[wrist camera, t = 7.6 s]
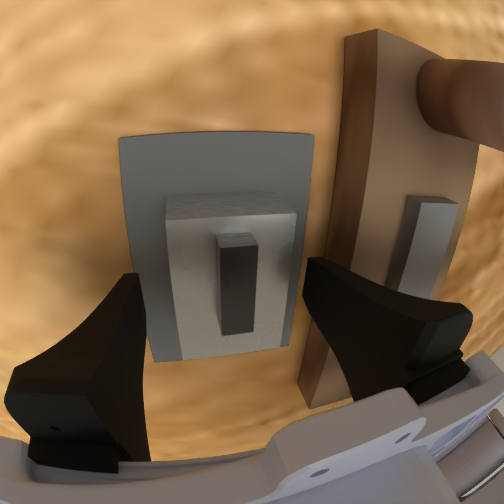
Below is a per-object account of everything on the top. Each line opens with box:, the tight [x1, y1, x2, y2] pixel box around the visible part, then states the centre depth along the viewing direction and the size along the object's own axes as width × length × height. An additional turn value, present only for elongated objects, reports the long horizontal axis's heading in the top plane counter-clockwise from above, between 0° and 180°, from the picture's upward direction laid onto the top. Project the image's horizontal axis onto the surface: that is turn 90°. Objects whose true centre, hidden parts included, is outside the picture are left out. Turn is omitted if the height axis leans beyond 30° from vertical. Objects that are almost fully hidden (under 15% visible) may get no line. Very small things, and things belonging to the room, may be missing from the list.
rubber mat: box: [119, 131, 314, 362], centre depth 14 cm, size 12×8×1 cm, turn 177°
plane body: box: [297, 29, 504, 409], centre depth 13 cm, size 22×8×7 cm, turn 177°
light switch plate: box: [165, 191, 297, 360], centre depth 12 cm, size 6×4×4 cm
